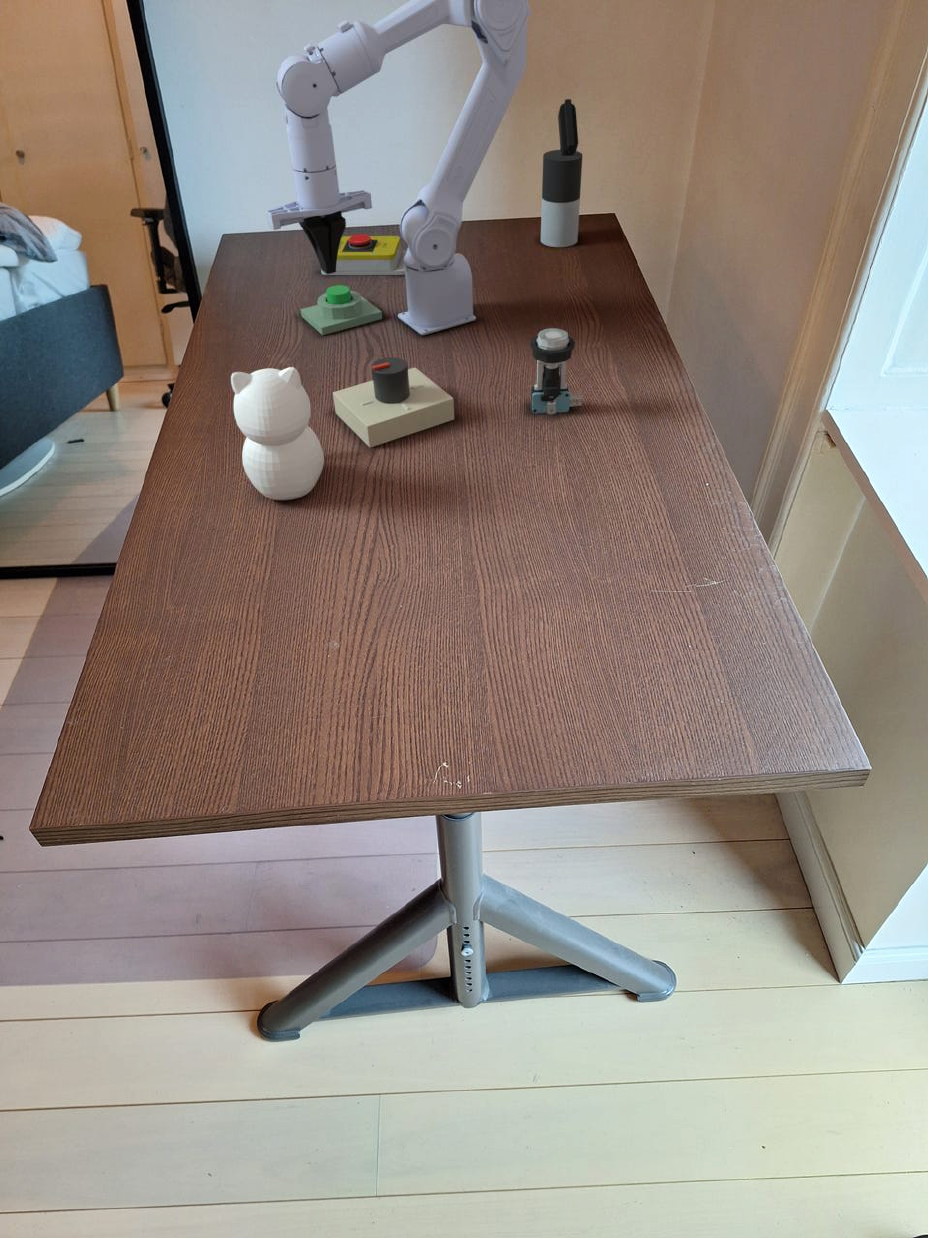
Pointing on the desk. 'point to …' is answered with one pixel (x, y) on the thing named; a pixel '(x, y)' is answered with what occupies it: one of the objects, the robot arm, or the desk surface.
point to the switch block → (340, 314)
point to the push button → (552, 372)
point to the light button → (338, 294)
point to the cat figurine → (277, 433)
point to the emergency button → (370, 256)
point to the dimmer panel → (393, 410)
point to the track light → (562, 184)
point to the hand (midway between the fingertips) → (328, 270)
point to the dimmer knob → (390, 380)
